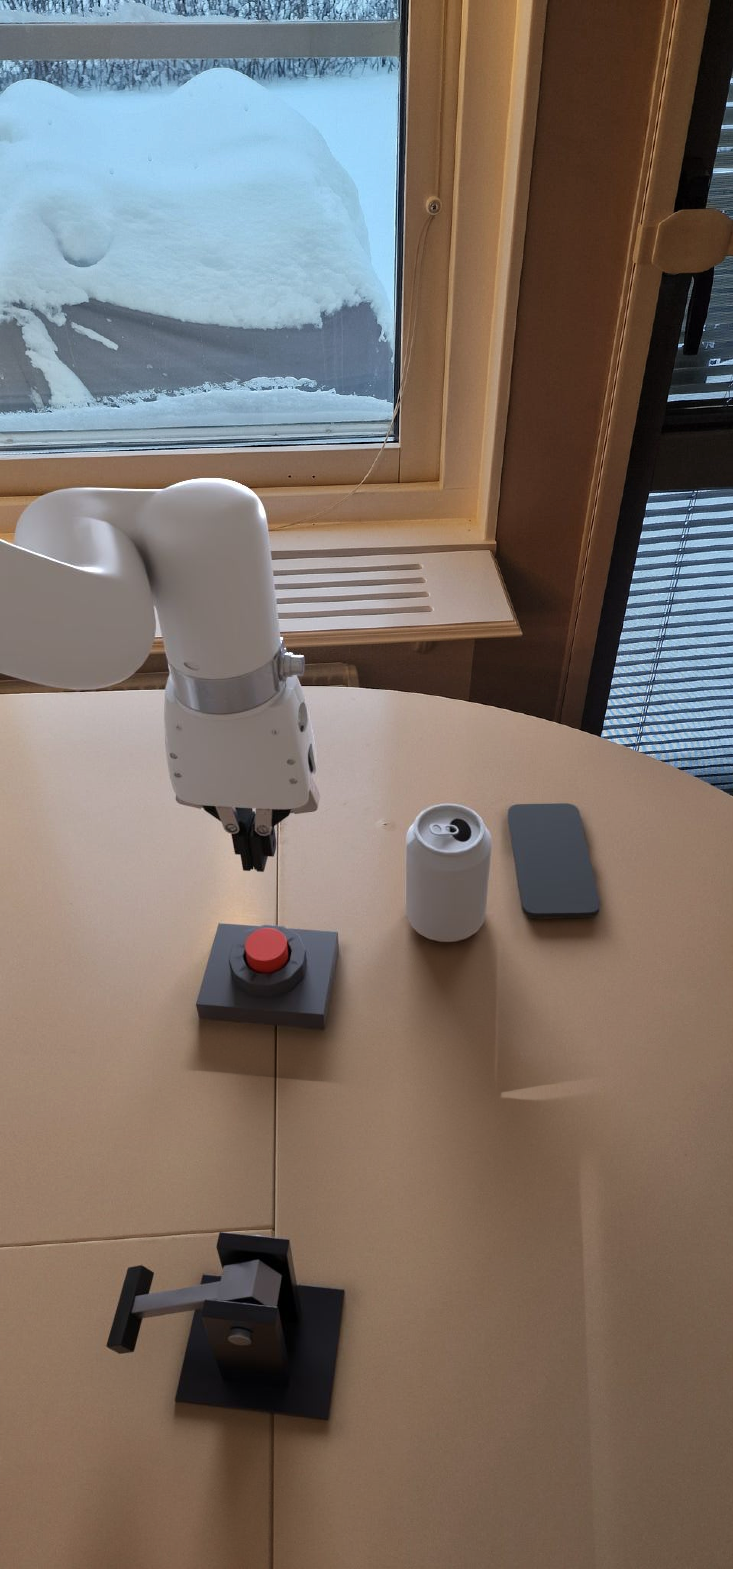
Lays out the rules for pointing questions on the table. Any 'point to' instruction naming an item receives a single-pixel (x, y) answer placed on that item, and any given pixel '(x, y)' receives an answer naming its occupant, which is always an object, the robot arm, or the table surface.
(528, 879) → the phone
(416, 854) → the can
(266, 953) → the button
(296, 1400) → the bracket
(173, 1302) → the lever
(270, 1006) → the button block
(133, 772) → the table surface
